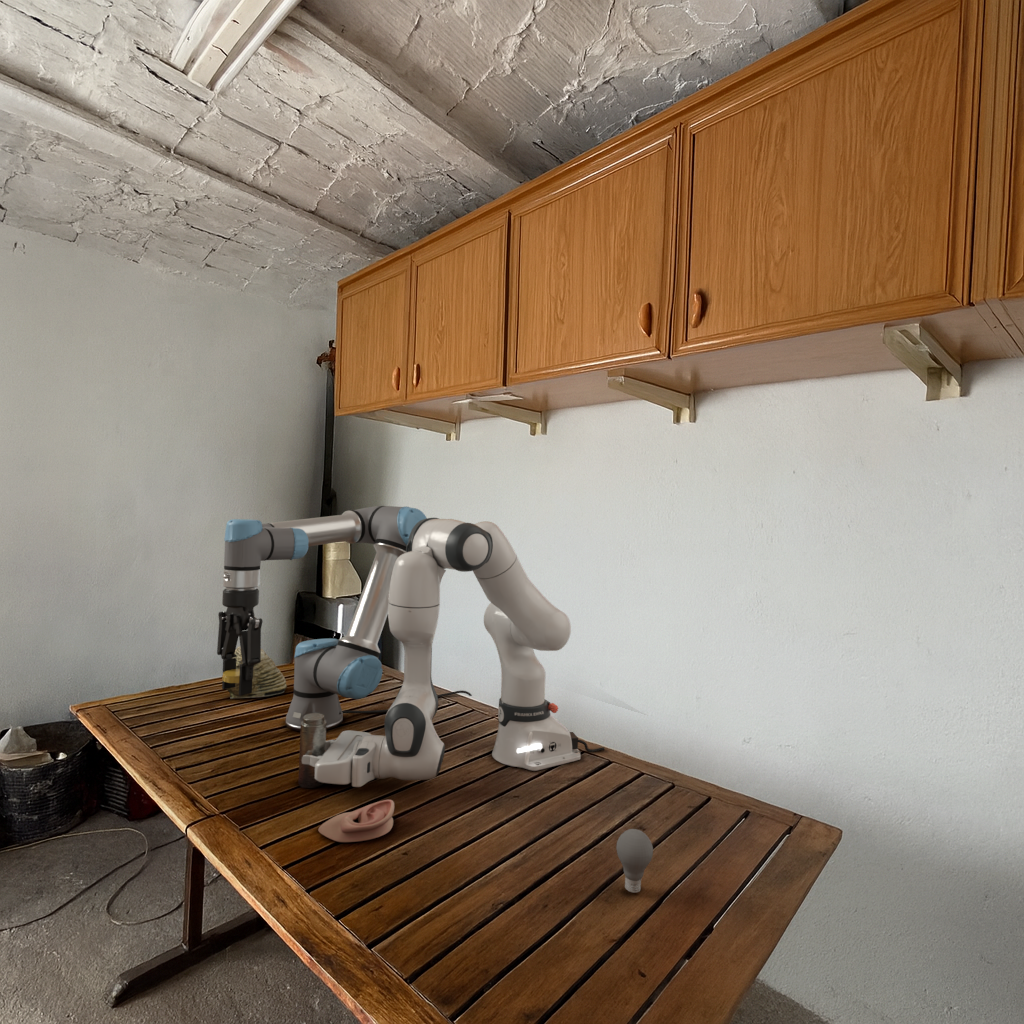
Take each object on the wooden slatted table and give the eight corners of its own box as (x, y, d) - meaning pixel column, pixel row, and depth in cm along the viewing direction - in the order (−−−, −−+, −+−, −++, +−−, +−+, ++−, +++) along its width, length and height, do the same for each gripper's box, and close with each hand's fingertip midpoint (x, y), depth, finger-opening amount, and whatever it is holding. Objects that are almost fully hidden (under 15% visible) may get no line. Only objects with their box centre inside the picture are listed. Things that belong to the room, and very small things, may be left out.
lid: (245, 683, 139) (246, 676, 139) (217, 682, 139) (217, 675, 139) (255, 676, 145) (255, 669, 145) (228, 675, 145) (229, 668, 145)
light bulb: (610, 879, 108) (613, 822, 108) (644, 879, 109) (647, 822, 109) (619, 902, 102) (622, 840, 102) (655, 901, 103) (658, 840, 103)
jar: (306, 776, 143) (308, 711, 143) (328, 779, 142) (331, 713, 142) (293, 786, 138) (296, 719, 138) (316, 789, 137) (319, 721, 137)
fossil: (218, 695, 195) (220, 647, 195) (278, 685, 208) (279, 640, 207) (228, 703, 189) (230, 653, 188) (289, 692, 201) (290, 645, 201)
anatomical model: (310, 816, 117) (339, 789, 129) (309, 837, 117) (338, 808, 129) (377, 827, 115) (401, 798, 126) (376, 848, 115) (400, 818, 126)
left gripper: (202, 584, 144) (198, 685, 145) (250, 594, 133) (245, 704, 134) (233, 582, 150) (229, 679, 151) (281, 591, 140) (276, 696, 140)
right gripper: (382, 725, 150) (324, 721, 150) (358, 760, 129) (291, 756, 130) (381, 751, 150) (323, 748, 150) (357, 791, 129) (290, 787, 130)
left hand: (236, 690), depth 142 cm, fingers closed on lid, 6 cm apart
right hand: (308, 752), depth 140 cm, fingers closed on jar, 5 cm apart
